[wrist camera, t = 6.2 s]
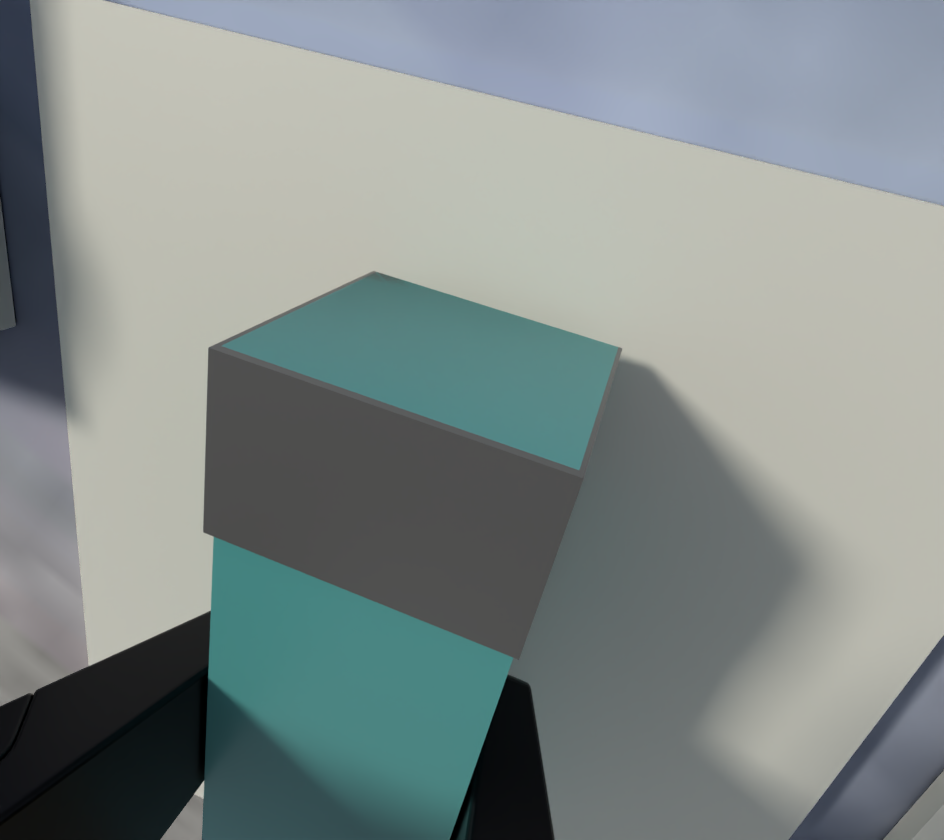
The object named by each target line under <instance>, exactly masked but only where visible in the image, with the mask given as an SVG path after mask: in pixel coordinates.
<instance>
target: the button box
mask: <svg viewBox="0 0 944 840" xmlns="http://www.w3.org/2000/svg"><path fill="white" fill-rule="evenodd" d="M14 326H16V323H15V315H14V307H13V298H12V290H11V282H10V274H9V265H8V257H7V249H6V241H5V232H4V224H3V216H2V208H1V199H0V331H1V330H4V329H8V328H11V327H14Z"/></svg>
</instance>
